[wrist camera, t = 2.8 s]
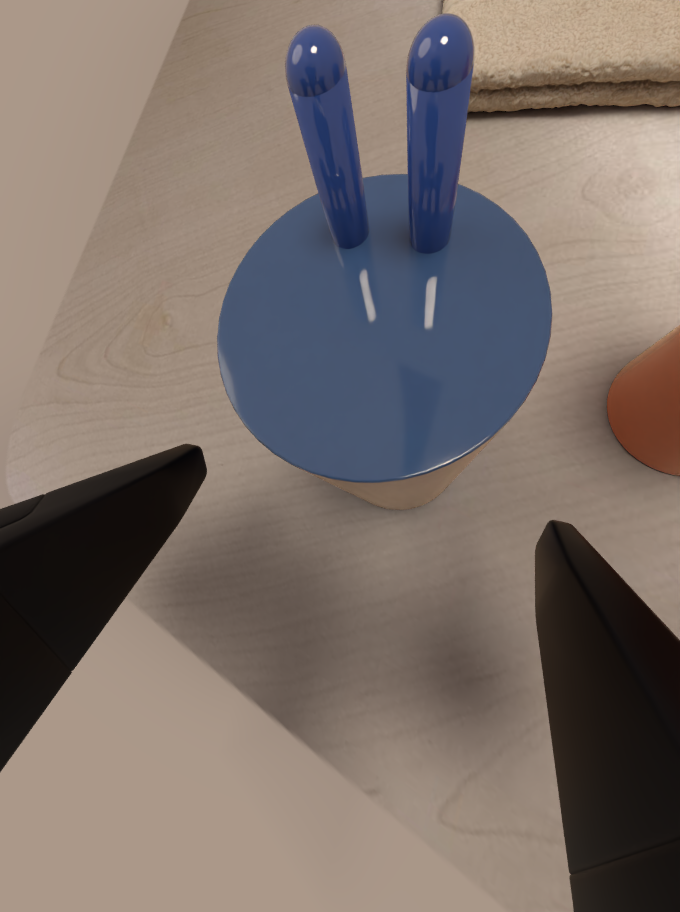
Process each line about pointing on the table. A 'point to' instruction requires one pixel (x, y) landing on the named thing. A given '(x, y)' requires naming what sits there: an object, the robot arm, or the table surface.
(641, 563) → the table surface
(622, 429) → the red spoon jar
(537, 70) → the washcloth
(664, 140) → the table surface
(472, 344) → the blue spoon jar
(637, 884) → the robot arm
